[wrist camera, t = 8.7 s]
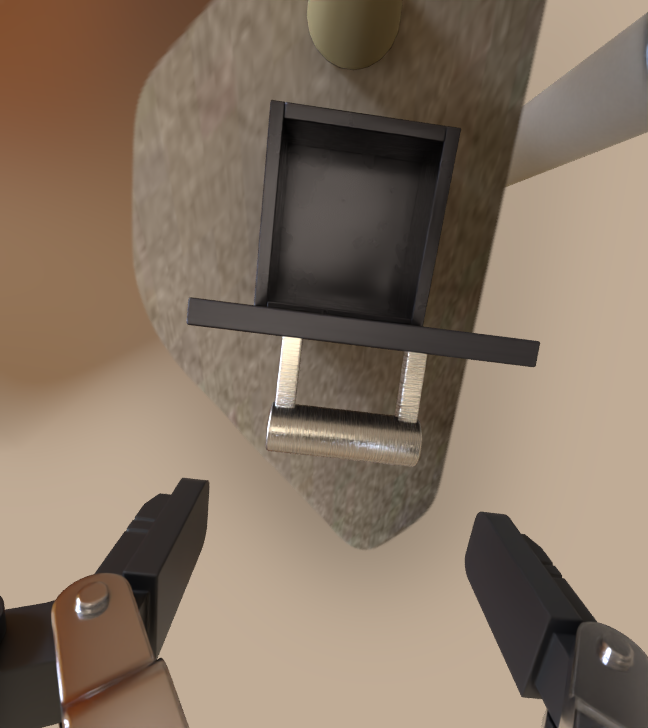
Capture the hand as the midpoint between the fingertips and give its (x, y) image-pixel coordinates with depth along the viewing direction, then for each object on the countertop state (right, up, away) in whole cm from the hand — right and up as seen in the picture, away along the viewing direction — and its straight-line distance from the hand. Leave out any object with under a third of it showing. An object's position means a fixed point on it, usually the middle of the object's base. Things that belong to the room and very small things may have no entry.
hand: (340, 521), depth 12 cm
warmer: (+1, +14, +17) cm, 22 cm away
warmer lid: (+1, +7, +6) cm, 9 cm away
